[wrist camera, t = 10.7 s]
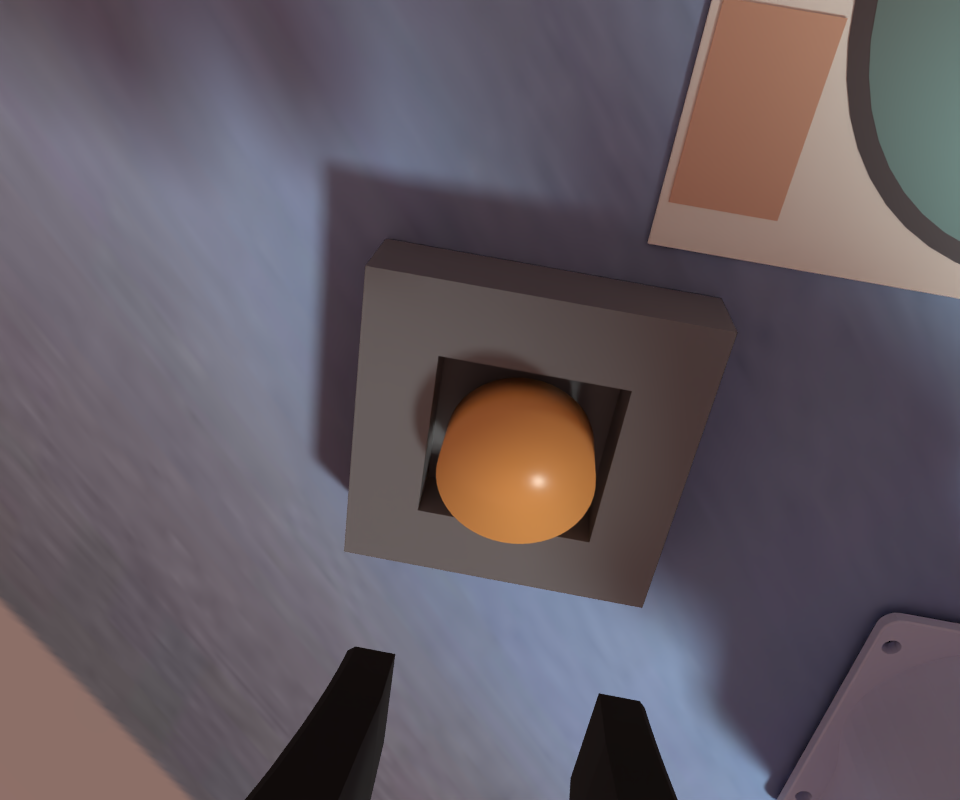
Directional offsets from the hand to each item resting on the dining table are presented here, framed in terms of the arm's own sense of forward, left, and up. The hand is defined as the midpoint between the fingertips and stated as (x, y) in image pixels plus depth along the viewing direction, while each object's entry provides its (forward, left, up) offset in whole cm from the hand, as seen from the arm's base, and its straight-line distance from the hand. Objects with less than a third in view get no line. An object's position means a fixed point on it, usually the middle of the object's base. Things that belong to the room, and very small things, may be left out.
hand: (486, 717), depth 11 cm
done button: (0, 0, -8) cm, 8 cm away
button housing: (0, 0, -9) cm, 9 cm away
